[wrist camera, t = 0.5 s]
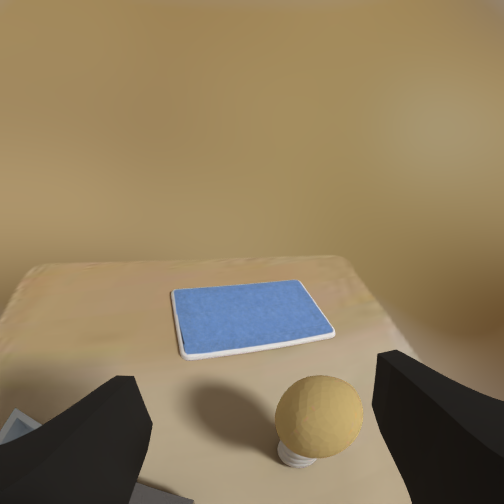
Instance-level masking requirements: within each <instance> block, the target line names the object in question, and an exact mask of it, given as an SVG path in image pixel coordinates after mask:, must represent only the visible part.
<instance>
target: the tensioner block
mask: <svg viewBox="0 0 504 504" xmlns="http://www.w3.org/2000/svg"><path fill="white" fill-rule="evenodd" d="M129 504H194V500H191V499H188V498H184V497H180V496H177V495H173V494H170V493H167V492H164V491H160V490H157V489H154V488H151V487H148V486H146V485H143V484H140V483H137V482H136V484H135V487H134V490H133V493H132V496H131V498H130V501H129Z"/></svg>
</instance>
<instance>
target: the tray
mask: <svg viewBox="0 0 504 504" xmlns="http://www.w3.org/2000/svg"><path fill="white" fill-rule="evenodd" d="M40 426H42V424H40V423H38V422H37V421H35V420H33V419H32V418H30V417H29V416H27V415H26V414H24V413H23V412H21V411H20V410H18V409H17V408H15V409H14V410H13V412H12V413H11V415H10V417H9V418H8V420H7V421H6V423H5V424H4V426H3V427H2V429H1V431H0V445H1V444H4V443H7V442H10V441H12V440H14V439H17V438H19V437H21V436H23V435H25V434H27V433H29V432H31V431H33V430H35V429H37V428H38V427H40Z"/></svg>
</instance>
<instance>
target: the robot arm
mask: <svg viewBox="0 0 504 504" xmlns="http://www.w3.org/2000/svg"><path fill="white" fill-rule="evenodd" d="M372 408H373V411H374V414H375V417H376V420H377V423H378V426H379V429H380V432H381V434H382V436H383V439H384V441H385V443H386V445H387V447H388V449H389V451H390V453H391V455H392V457H393V459H394V461H395V464H396V466H397V468H398V470H399V472H400V474H401V476H402V478H403V480H404V483H405V485H406V487H407V490H408V492H409V495H410V498H411V501H412V504H504V401H501V400H498V399H495V398H492V397H489V396H487V395H484V394H482V393H479V392H477V391H475V390H472V389H470V388H468V387H466V386H464V385H461V384H459V383H458V382H455V381H453V380H451V379H449V378H448V377H446V376H444V375H442V374H440V373H438V372H436V371H435V370H433V369H431V368H429V367H427V366H426V365H424V364H422V363H420V362H419V361H417V360H415V359H413V358H411V357H410V356H408V355H406V354H404V353H402V352H400V351H398V350H392V351H388V352H383V353H379V354H377V365H376V375H375V383H374V391H373V399H372ZM152 425H153V423H152V421H151V418H150V416H149V414H148V411H147V409H146V406H145V404H144V401H143V399H142V396H141V394H140V391H139V388H138V386H137V383H136V380H135V378H134V376H115V377H114V378H112V379H110V380H109V381H107V382H106V383H104V384H103V385H101V386H100V387H98V388H97V389H96V390H94V391H93V392H91V393H90V394H88V395H87V396H86V397H84V398H83V399H81V400H80V401H79V402H77V403H76V404H74V405H73V406H71V407H70V408H69V409H67V410H66V411H64V412H62V413H61V414H59V415H58V416H56V417H55V418H53V419H51V420H50V421H48V422H47V423H45V424H44V425H42V426H40V427H38V428H37V429H35V430H33V431H31V432H29V433H27V434H25V435H23V436H21V437H19V438H17V439H14V440H12V441H10V442H7V443H4V444H1V445H0V504H129V501H130V498H131V496H132V493H133V490H134V487H135V484H136V481H137V479H138V476H139V473H140V470H141V467H142V465H143V462H144V459H145V456H146V453H147V450H148V446H149V441H150V436H151V430H152Z"/></svg>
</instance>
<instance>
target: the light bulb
mask: <svg viewBox="0 0 504 504" xmlns="http://www.w3.org/2000/svg"><path fill="white" fill-rule="evenodd" d="M362 421H363V408H362V403H361V400H360V397H359V396H358V394H357V392H356V390H355V389H354V388H353V387H352V386H351V385H350V384H349V383H347V382H345V381H343V380H341V379H338V378H335V377H330V376H322V375H319V376H310V377H306V378H303V379H301V380H299V381H297V382H295V383H294V384H293V385H292V386H291V387H289V388H288V390H287V391H286V392H285V393H284V394H283V396H282V397H281V399H280V401H279V403H278V405H277V409H276V413H275V426H276V431H277V433H278V436H279V438H280V439H281V440H280V442H279V444H278V455H279V457H280V459H281V460H282V461H283V462H284V463H285V464H286V465H288V466H290V467H294V468H304V467H307V466H309V465H311V464H312V463H314V462H315V461H316V459H317V458H326V457H330V456H333V455H335V454H338V453H340V452H341V451H343V450H344V449H346V448H347V447H348V446H350V444H351V443H352V442H353V441H354V440H355V439H356V437H357V435H358V433H359V431H360V429H361V426H362Z"/></svg>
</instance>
